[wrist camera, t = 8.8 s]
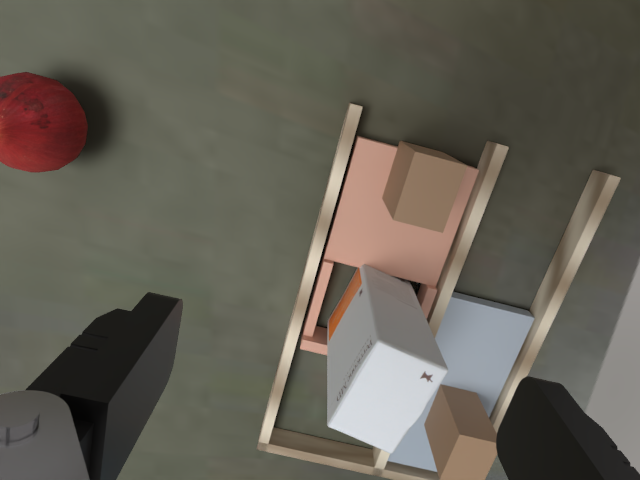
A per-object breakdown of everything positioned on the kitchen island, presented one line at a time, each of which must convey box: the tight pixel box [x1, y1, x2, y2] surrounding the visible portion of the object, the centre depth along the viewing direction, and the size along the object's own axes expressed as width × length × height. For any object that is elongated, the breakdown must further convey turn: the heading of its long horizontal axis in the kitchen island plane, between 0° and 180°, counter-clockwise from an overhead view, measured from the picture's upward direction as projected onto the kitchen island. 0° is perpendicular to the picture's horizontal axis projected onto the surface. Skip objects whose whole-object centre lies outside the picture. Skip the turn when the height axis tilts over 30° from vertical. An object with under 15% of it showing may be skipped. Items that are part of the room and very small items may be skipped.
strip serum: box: [300, 136, 479, 355], centre depth 31 cm, size 16×8×7 cm, turn 165°
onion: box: [0, 72, 88, 172], centre depth 28 cm, size 6×6×8 cm
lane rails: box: [257, 103, 621, 480], centre depth 35 cm, size 28×18×2 cm, turn 165°
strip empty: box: [387, 292, 535, 480], centre depth 34 cm, size 16×7×7 cm, turn 165°
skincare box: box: [327, 264, 448, 454], centre depth 29 cm, size 6×4×12 cm
